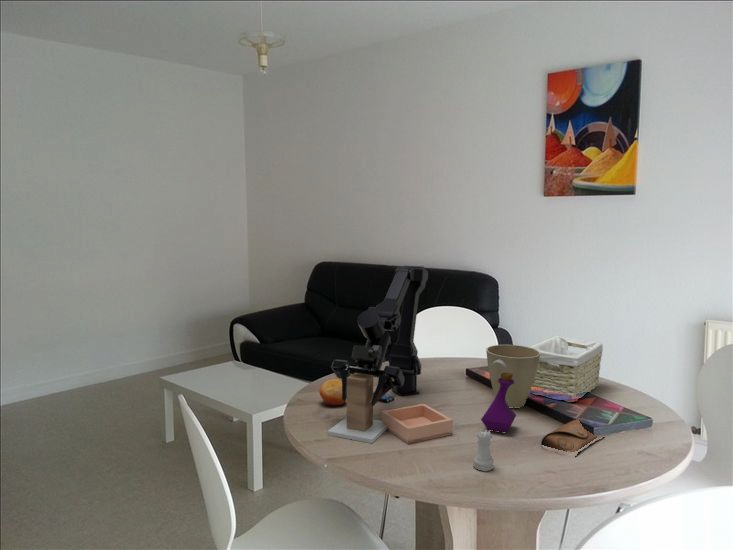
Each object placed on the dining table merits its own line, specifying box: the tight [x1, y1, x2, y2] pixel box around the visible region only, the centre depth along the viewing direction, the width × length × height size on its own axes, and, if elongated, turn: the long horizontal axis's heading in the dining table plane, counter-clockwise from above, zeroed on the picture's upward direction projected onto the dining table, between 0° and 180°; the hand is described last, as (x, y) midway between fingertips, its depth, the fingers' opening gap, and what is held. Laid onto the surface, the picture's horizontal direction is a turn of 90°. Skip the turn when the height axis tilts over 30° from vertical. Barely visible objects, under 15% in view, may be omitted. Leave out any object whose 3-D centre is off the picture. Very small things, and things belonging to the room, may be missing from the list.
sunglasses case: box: [540, 416, 597, 452], centre depth 132 cm, size 18×7×7 cm
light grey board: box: [327, 416, 388, 444], centre depth 138 cm, size 12×12×1 cm
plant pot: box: [485, 344, 540, 408], centre depth 157 cm, size 15×15×16 cm
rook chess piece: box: [472, 429, 495, 472], centre depth 118 cm, size 4×4×8 cm
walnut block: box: [346, 373, 374, 432], centre depth 137 cm, size 5×5×13 cm
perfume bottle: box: [480, 360, 517, 433], centre depth 138 cm, size 8×8×18 cm
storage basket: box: [529, 335, 604, 396], centre depth 170 cm, size 24×16×15 cm
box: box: [381, 403, 454, 445], centre depth 138 cm, size 13×13×4 cm
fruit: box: [318, 378, 347, 406], centre depth 157 cm, size 8×8×8 cm
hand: (357, 402), depth 136 cm, fingers open, 8 cm apart
